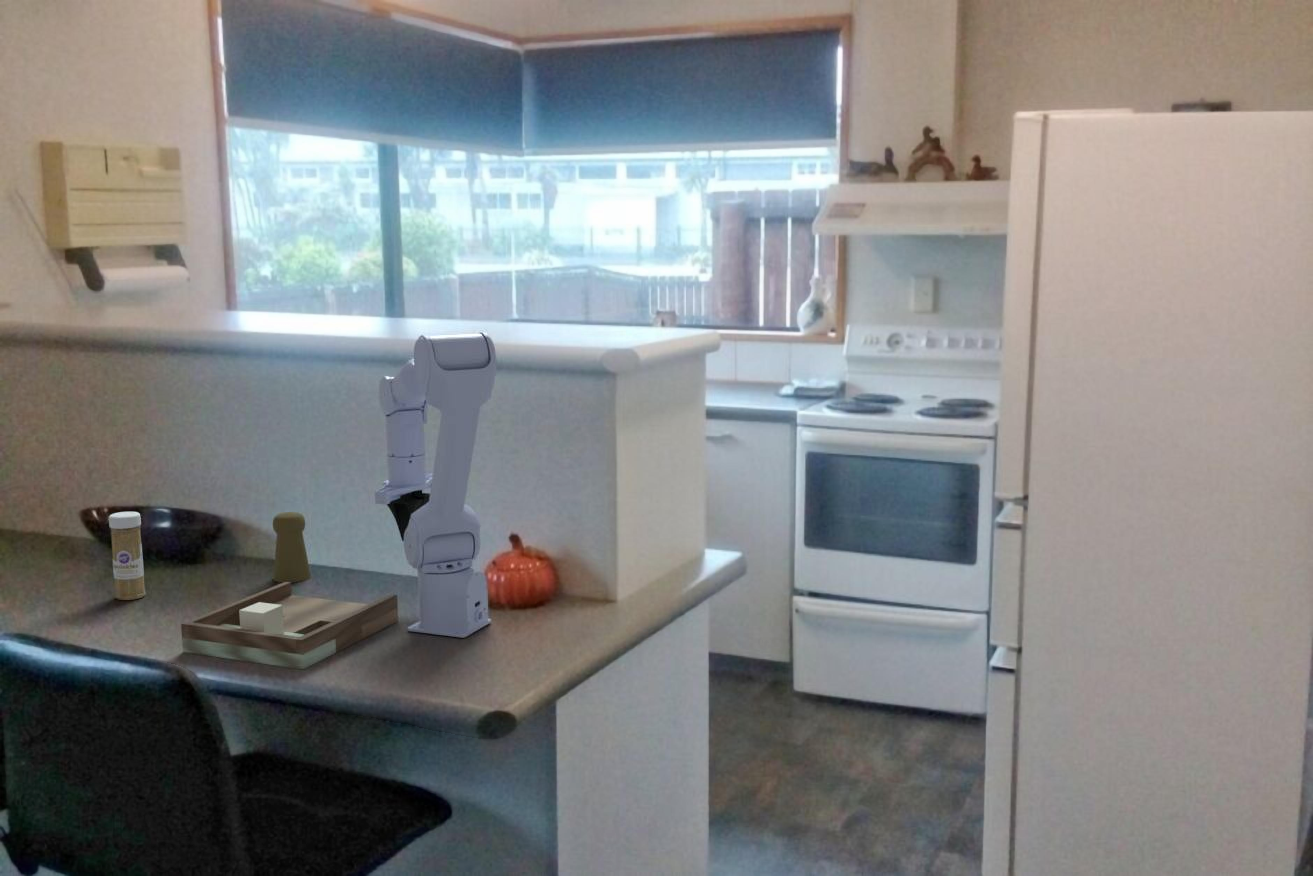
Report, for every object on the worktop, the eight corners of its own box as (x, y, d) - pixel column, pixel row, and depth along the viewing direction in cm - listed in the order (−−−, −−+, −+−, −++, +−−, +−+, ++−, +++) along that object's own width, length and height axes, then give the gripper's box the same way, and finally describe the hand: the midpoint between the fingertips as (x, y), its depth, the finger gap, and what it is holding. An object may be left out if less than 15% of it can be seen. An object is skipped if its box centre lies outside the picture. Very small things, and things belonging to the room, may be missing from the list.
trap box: (398, 621, 182) (397, 594, 181) (303, 669, 162) (301, 640, 161) (287, 607, 189) (285, 581, 188) (183, 651, 169) (180, 623, 168)
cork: (300, 583, 202) (296, 517, 200) (266, 581, 203) (262, 516, 202) (317, 573, 208) (313, 509, 206) (284, 572, 209) (280, 508, 207)
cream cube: (284, 633, 170) (282, 605, 170) (264, 641, 167) (263, 613, 166) (260, 629, 172) (258, 602, 171) (241, 638, 168) (239, 610, 167)
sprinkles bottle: (115, 602, 192) (108, 518, 190) (115, 594, 197) (108, 512, 194) (146, 598, 194) (140, 515, 192) (146, 591, 198) (140, 509, 196)
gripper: (410, 445, 197) (413, 528, 199) (356, 460, 184) (360, 549, 186) (448, 447, 194) (451, 532, 196) (396, 463, 181) (400, 553, 183)
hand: (410, 540), depth 191 cm, fingers closed
